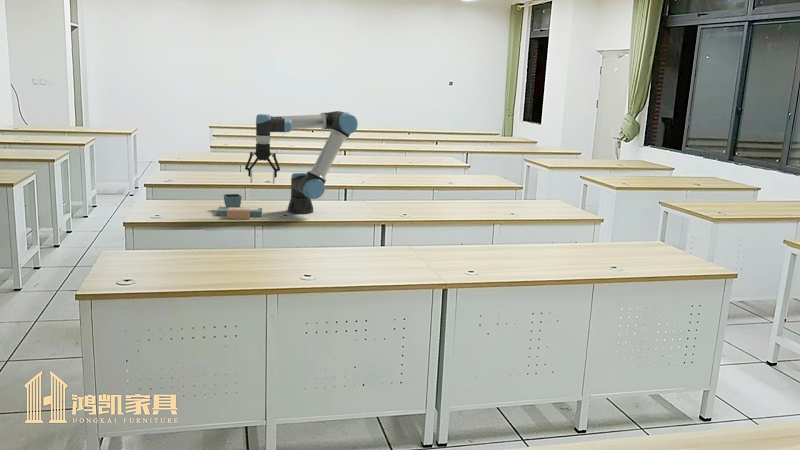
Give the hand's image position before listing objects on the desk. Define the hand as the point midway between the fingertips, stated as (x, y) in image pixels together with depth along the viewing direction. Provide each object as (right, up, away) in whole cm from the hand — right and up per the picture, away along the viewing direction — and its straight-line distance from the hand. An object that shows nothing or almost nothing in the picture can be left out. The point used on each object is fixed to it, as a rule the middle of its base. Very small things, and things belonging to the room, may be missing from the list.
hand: (262, 183), depth 369 cm
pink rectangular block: (-14, -19, +4) cm, 24 cm away
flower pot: (-22, -15, +22) cm, 35 cm away
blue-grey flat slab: (-15, -17, +12) cm, 26 cm away
